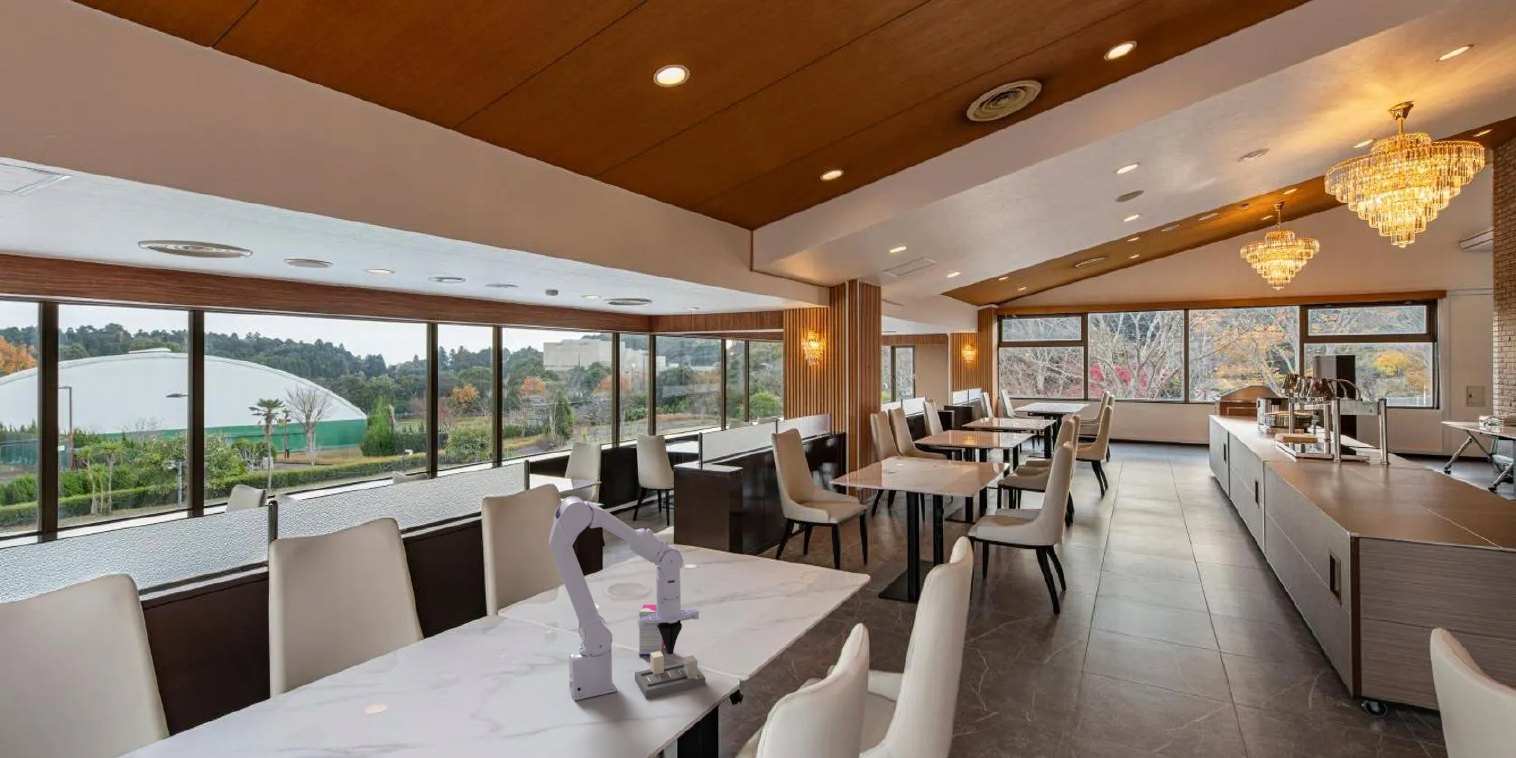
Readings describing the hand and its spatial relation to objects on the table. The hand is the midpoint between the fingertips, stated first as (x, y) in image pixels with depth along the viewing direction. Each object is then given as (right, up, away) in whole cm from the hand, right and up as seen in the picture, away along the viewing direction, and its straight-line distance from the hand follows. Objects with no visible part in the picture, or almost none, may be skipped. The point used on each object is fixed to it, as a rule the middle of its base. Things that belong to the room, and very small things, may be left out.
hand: (669, 652), depth 157 cm
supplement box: (-6, -5, +13) cm, 15 cm away
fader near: (+6, -4, -6) cm, 9 cm away
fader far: (-2, -4, -3) cm, 5 cm away
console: (+1, -5, -5) cm, 7 cm away
